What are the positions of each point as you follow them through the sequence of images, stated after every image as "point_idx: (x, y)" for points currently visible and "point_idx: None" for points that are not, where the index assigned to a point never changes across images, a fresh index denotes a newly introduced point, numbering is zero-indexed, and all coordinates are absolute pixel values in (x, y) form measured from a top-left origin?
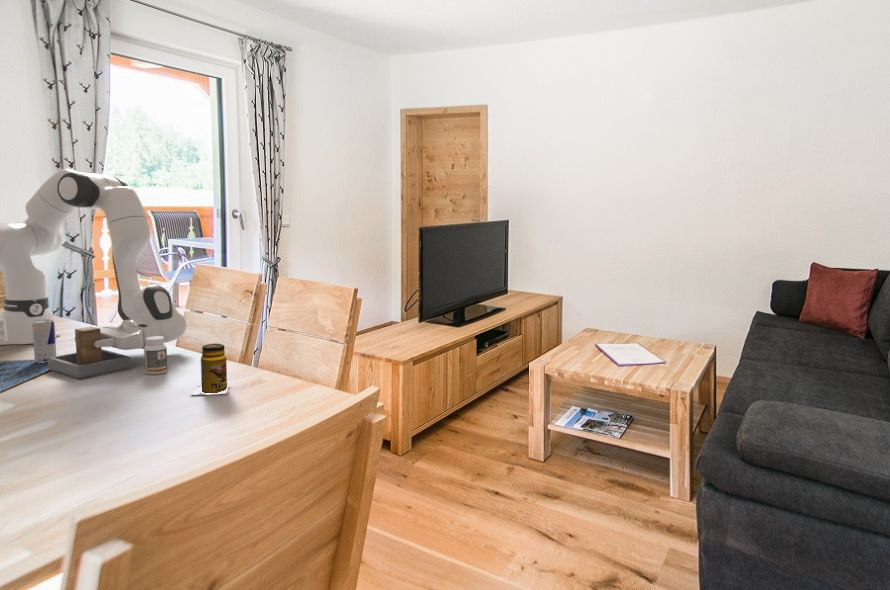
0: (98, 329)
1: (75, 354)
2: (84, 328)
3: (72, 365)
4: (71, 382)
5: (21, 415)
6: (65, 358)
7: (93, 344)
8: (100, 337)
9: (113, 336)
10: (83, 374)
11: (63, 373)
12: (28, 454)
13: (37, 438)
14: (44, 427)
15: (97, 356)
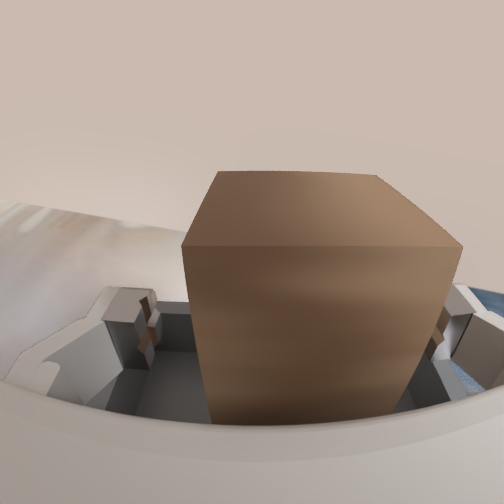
0: (190, 242)
1: (443, 395)
2: (352, 192)
3: (186, 303)
4: None
5: (79, 221)
6: (420, 362)
7: (156, 310)
8: (201, 363)
9: (8, 383)
10: None
11: None
12: (10, 208)
13: (18, 216)
14: (25, 223)
15: None
